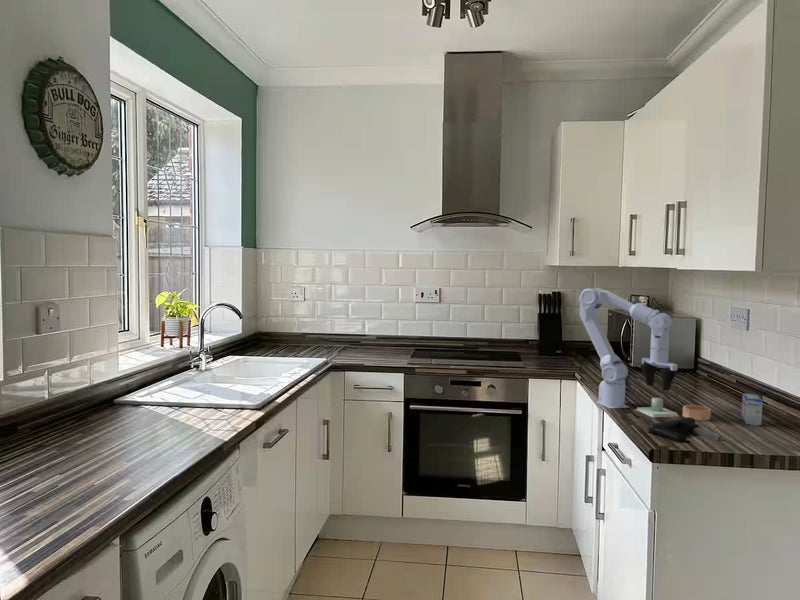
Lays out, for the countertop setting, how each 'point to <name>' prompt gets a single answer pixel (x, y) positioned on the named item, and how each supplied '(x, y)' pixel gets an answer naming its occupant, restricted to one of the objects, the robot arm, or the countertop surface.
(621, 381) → the robot arm
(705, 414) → the bowl
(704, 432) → the black dustpan
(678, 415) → the mat
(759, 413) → the medicine box
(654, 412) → the lid
